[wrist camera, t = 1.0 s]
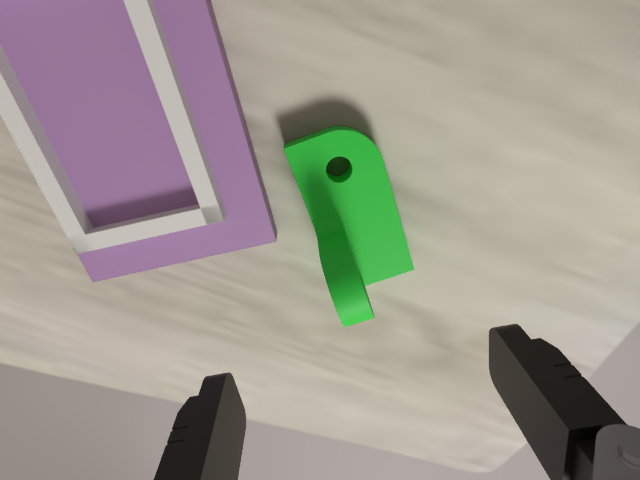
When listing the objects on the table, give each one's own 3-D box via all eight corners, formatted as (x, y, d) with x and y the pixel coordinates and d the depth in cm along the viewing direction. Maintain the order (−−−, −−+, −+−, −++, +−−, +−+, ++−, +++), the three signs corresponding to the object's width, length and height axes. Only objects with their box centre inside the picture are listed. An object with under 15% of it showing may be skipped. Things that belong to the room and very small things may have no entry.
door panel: (184, -92, 21) (167, -115, 18) (277, 231, 29) (275, 248, 27) (-53, -30, 22) (-104, -44, 19) (103, 270, 30) (84, 290, 27)
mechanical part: (407, 257, 31) (440, 315, 24) (338, 281, 32) (350, 344, 25) (365, 113, 26) (391, 130, 19) (284, 143, 27) (279, 171, 20)
